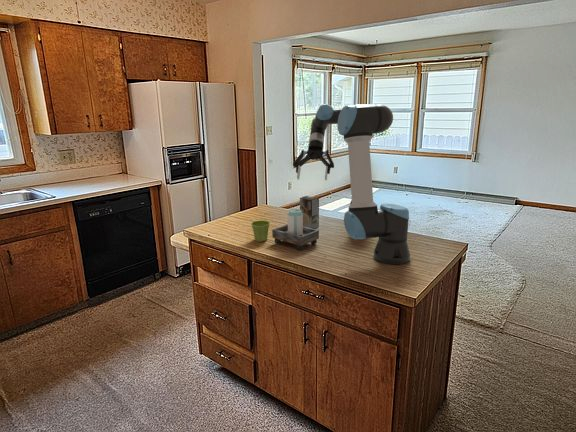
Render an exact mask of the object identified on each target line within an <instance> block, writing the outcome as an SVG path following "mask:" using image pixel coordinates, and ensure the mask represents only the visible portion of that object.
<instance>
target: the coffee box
mask: <svg viewBox="0 0 576 432" xmlns="http://www.w3.org/2000/svg"><path fill="white" fill-rule="evenodd" d="M299 210H301V212H302V214H303V227H307V228H311V229H316V228H319V226H320V198H319V197H314V196H310V195H306V196H302V197H299Z"/></svg>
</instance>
